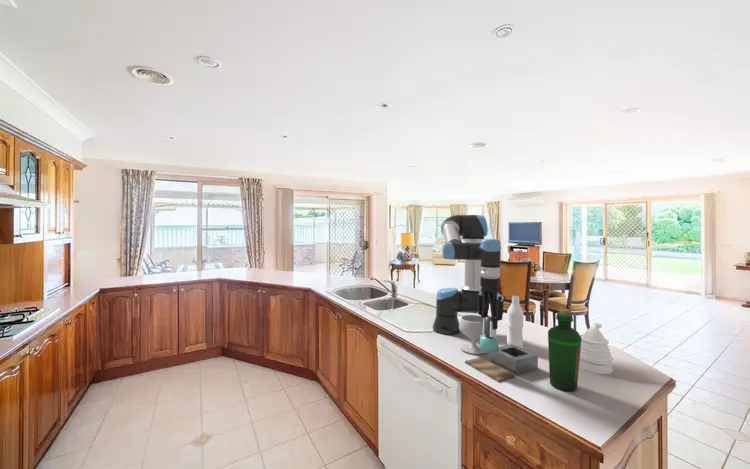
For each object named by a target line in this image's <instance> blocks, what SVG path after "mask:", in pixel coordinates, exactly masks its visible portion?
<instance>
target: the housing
mask: <svg viewBox="0 0 750 469" xmlns="http://www.w3.org/2000/svg"><path fill="white" fill-rule="evenodd" d="M490 362H491V363H493V364H495V365H497V366H499V367H500V368H502V369H504V370H506V371H508V372H510V373H512V374H514V375H515V377H517V376H520V375H523V374H527V373H530V372H531V373H532V372H534V371H538V369H539V355H538V354H536V353H533V351H529V350H527V349H525V348H523V347H522V348H520V347H517V346H515V345H513V344H512V345H507V344H506V345H503V346H498V352H496V353H490Z"/></svg>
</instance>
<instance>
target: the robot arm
mask: <svg viewBox="0 0 750 469" xmlns="http://www.w3.org/2000/svg"><path fill="white" fill-rule="evenodd" d="M488 229H489V228H488V223H487V219H486V217H485V216H484V215H482V214H481V215H480V214H455V215H451V216H448V217H447V218H445V219H444V220H443V222H442V223H441V225H440V232H441V234H442V236H443V239H444V242H443V243H442V249H441V250H442V251H441V255H442V258H443V259H444V260H450V261H451V260H452V261H453V260H454V261H455V260H461V261H462V260H463V261H464V285H463V286H462V287H461V290H458V288H457V287H444V288H440V289H438V290H437V292H436V298H435V300H436V301H435V303H436V308H435V310H436V311H435V319H434V321H433V323H432V330H433V331H434V332H435V333H438V334H442V335H457V334H460V333H461V331H460V329H459V322H460V320H459V319H458V313H464V314H465V313H466V314H474V315H476V314H477V315H478V316H481V317H482V325H483V334H485V317H486V316H489V315H488V314H489V308H490V317H491V318H492V320H490V337H496V336H497V329H498V323H499V322H500V321H502V320H503V312H504V302H505V299H506V296H505V295H502V294H500V293H501V292H500V291H499V288H501V278H500V277H501V257H502V256H501V253H502V252H501V251H502V250H501V249H502V244H501V240H500V239H497V238H496V239H495V238H485V237H487V236H488V231H489V230H488ZM462 241H463V242H462ZM498 321H499V322H498Z"/></svg>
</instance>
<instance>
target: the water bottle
mask: <svg viewBox="0 0 750 469" xmlns="http://www.w3.org/2000/svg"><path fill="white" fill-rule="evenodd" d="M511 297H512V298H511V304H510V306H509V307H508V309H507V312H506V314H507V319H506V320H507V321H506V322H507V323H506V325H507V335H506V343H507V344H506V346H507V345H512V344H513V345H515V346H517V347H520V348H522V349H523V346H524V337H523V327H524V310H523V308H522V306H521V304H520V302H521V301H520V296H519V295H512V296H511Z"/></svg>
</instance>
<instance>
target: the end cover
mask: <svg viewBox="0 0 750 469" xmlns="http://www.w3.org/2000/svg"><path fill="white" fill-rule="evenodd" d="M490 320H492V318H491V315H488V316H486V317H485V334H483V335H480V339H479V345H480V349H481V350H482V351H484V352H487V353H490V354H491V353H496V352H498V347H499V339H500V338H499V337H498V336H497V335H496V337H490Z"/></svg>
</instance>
